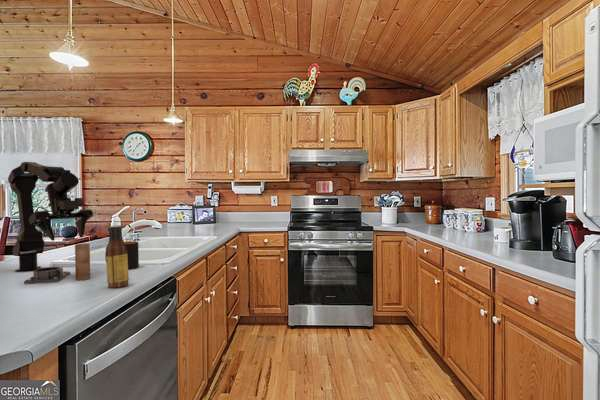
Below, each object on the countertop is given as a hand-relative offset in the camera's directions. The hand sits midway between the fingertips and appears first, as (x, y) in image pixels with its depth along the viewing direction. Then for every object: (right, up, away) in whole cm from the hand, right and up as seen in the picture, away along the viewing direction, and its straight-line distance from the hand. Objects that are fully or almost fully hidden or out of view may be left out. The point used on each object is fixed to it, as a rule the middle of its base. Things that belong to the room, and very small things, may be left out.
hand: (68, 238), depth 123 cm
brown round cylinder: (+5, -15, +1) cm, 15 cm away
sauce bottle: (+22, -15, -8) cm, 28 cm away
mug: (+10, -14, +18) cm, 25 cm away
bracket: (-8, -15, +1) cm, 17 cm away
